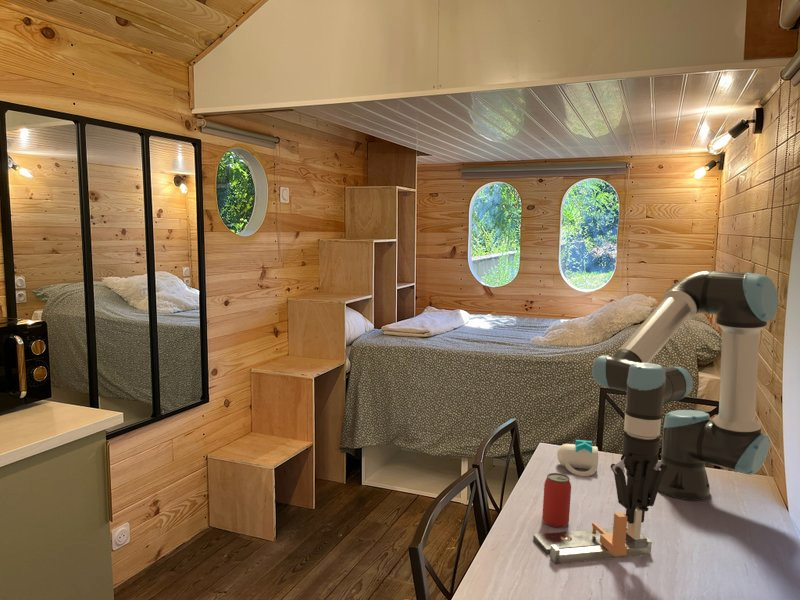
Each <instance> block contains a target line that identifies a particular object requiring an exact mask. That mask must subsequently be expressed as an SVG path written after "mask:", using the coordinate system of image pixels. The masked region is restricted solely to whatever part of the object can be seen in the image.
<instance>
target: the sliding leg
mask: <svg viewBox="0 0 800 600" xmlns="http://www.w3.org/2000/svg"><path fill="white" fill-rule="evenodd" d="M612 525H613V526H612V528H613V534H612V533H609V534H608V533H607V532H606V531H604V530H603V527H602V526H600V525H599V524H598V523H596V522H592V523H591V526H592V529H593V532H592V533H593V534H596V530H597V531H598V532H599V533H601V534H600V543H601V544H602V545H603V546H604V547H605V548H606V549H607V550H609V551H610V552H611V553H612V554H613V555H614V556H619V555H627V546H626V545H625V542H626V529H627V526H628V522H627V516H626V513H624V512H623V511H621V512H614V513H613V524H612Z"/></svg>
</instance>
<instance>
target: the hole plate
mask: <svg viewBox="0 0 800 600" xmlns="http://www.w3.org/2000/svg"><path fill="white" fill-rule="evenodd" d="M602 529H603V530H604V531H606V532H607V533H608V534H609V533H612V534H613V527H607V528H606V527H602ZM592 532H593V528H592V529H583V530H582V529H581V530H569V531H559V532H558V531H557V532H547V533H534V534H533V538H532V539H533V541H534V542H535V543H536V544H537V545H538V547H539V548H540V549H541V550H542V551H543V552H544V553H545V554H546V555H550V552H551V545H556V546H557V547H558V548H559V549H568V548H579V547H590V546H601V545H602V544H601V543H600V534H601V533H599V532H598V531H597V530H596V534H593V533H592ZM625 543H627V542H625Z"/></svg>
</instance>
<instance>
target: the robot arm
mask: <svg viewBox="0 0 800 600" xmlns="http://www.w3.org/2000/svg"><path fill="white" fill-rule="evenodd" d="M778 302H779V299H778V290H777V288H776V284H775V283H774V282H773V279H771V278H770V277H769V276H768V275H765V274H761V273H760V274H759V273H753V272H745V271H743V272H742V271H726V270H725V271H721V270H720V271H718V270H712V269H710V270H702V271H697V272H694V273H692V274H689V275H687V276H686V277H683V278H681V279H680V280H678V281H677V282H675V283H674V284H673V285H671V286H670V287H669V288H668V289H667V290H666V291H665V292H664V293H663V294H662V296H661V299H660V303H659V304H658V306H657V307H655V309H654V310H653V311H652V312H651V313H650V314H649V316H647V318H646V319H645V320H644V321H643V322H642V323H641V325H639V327H638V328H636V330H635V331H634V332H633V333H632V334H631V335H630V336H629V338H627V340H626V341H625V342H624V343H623V344H622V345H621V347H619V348H618V350H617V351H616V352H614V353H613V355H612V356H611V355H609V354H608V355H603V354H602V355H600V356H598V357H597V358H596V359H595V360H594V361H593V364H592V368H591V376H592V378H593V381H594V382H595V383H596V384H597V385H599V386H600V385H601V386H603V387H606V388H608V389H613V390H618V391H623V392H626V398H625V410H624V412H625V413H624V424H623V425H624V426H623V430H624V432H623V435H622V452H623V453H622V455H621V457H620V461H619V462H617V463H611V464H610V469H611V471H612V472H613V476H614V480H615V487H616V488H615V490H616V495H617V502H618V504H619V505H621V506H622V507H623V508H625V515H626V516H627V526H628V527H627V534H628V535H630V536H631V537H632V538H633V539H640V533H641V530H642V523H644V522H645V514H646V513H645V512H648V511H649V509H650V508H648V507H653V506H655V501H656V498H657V495H658V492H660V493H662V494H664V495H667V496H670V497H674V498H678V499H681V500H690V501H692V500H693V501H697V500H698V501H699V500H705V499H707V498H709V497H710V492H711V484H710V483H709V478H708V474H707V471H706V463H708V464H710V465H713V466H717V467H720V468H723V469H726V470H730V471H732V472H735V473H740V474H744V475H749V476H751V475H754V474H756V473H758V472H759V471H760V469H761V468H762V466H763V465H764V463H765V461H766V460H767V459H766V458H767V456H768V453H769V449H770V444H771V441H770V437H769V435H767V434H766V433H764V432H762V423H761V422H760V421H759V420H758V419H757V418H756V408H757V389H758V388H757V387H758V372H759V371H758V370H759V350H760V349H759V348H760V333H761V331H762V330H763V329H765V328H766V327H767V325H768V322H769V321H772V320H773V319H774V318H775V316H776V313H777V309H778V304H779V303H778ZM698 314H709V315H715V318H716V319H715V321H716V322H715V324H716V325H718V327H719V328H720V329H721V351H720V352H721V353H720V355H721V356H720V377H719V381H720V382H719V403H718V405H719V406H718V414H716V415H715V416H713V417H712V420H710V419H711V415H710V414H709V413H708V412H705V411H702V410H696V409H695V410H694V409H693V410H692V409H678V410H671V411H669V412H668V413H666V414H665V417H664V421H663V427H662V418H663V417H662V416H663V405H665V404H668V403H672V402H676V401H681V400H683V398H686V397H688V396H689V395H690V394H691V392H692V391H693V389H694V381H693V377H692V375H691V374H690V372H689V371H688V370H687V369H685V368H684V367H682V366H681V367H680V366H668V367H664V366H663V365H660V364H657V363H651V361H652V360H653V359H654V357H656V355H657V354H658V353H659V352H660V351H661V350H662V348H664V346H665V345H666V343H668V341H670V339H671V338H672V337H673V335H674V334H676V332H677V331H678V330H679V329H680V328H681V326H682V325H684V323H685V321H689V320H691V319H693V318H694V317H695V316H696V315H698ZM662 428H663V431H662ZM661 432H663V433H662V443H661V444H662V445H661V444H660V442H661V439H660V437H659V436H661ZM660 445H661V456H660V458H661V459H660V460H659V456H658V454H659V452H660ZM625 473H626V475H625Z"/></svg>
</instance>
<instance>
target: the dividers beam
mask: <svg viewBox="0 0 800 600" xmlns="http://www.w3.org/2000/svg"><path fill="white" fill-rule="evenodd" d="M627 527H628V525H627ZM626 542H627V543H625V545H626V546H627V555H619V556H614V555H613V554H612V553H611V552H610V551H609V550H607V549H606V548H605V547H604V546H603V545H601V546H590V547H579V548H568V549H559V548H558V547H557V546H556V545H551V552H550V554H549V559H550V560H551V561H552V562H553V564H554V565H561V564H569V563H581V562H582V563H583V562H590V561H591V562H592V561H601V560H603V561H604V560H612V559H622V558H623V559H624V558H633V557H634V558H635V557H643V556H651V555H652V546H653V544H652V543H653V542H652V540H650V539H649V538H648V537H646V536H645V535H644V534H643V533H641V532H640V539H633V538H632V537H631V536H630V535H628V534H627V529H626Z"/></svg>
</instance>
